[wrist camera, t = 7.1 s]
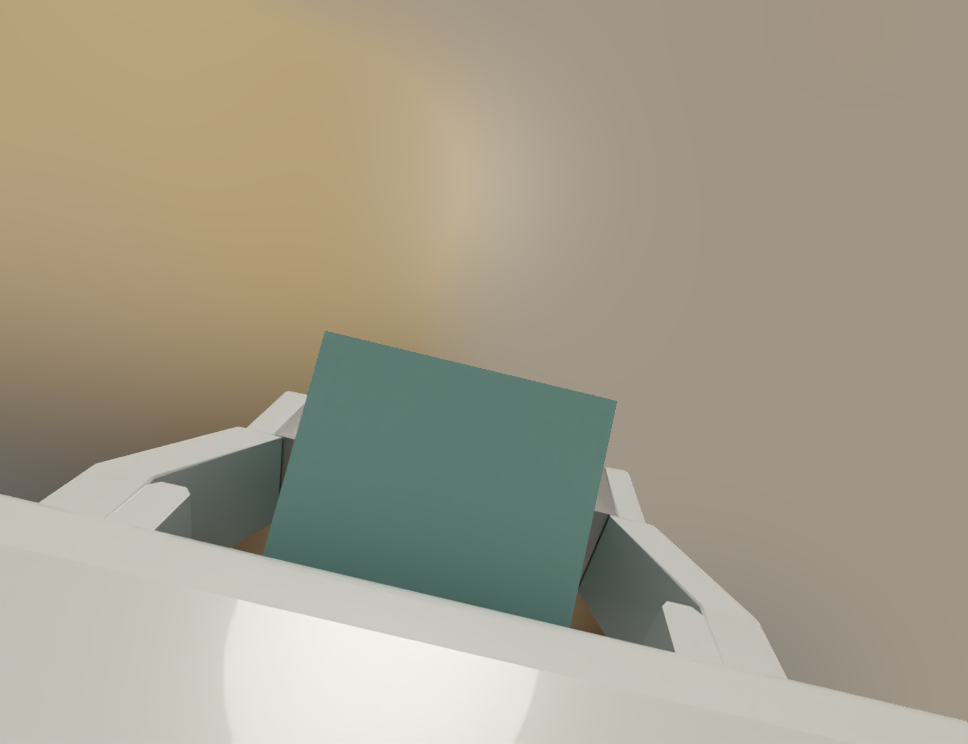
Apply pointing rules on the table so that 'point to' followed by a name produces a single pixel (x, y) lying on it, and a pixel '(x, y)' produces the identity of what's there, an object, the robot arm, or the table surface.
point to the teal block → (443, 479)
